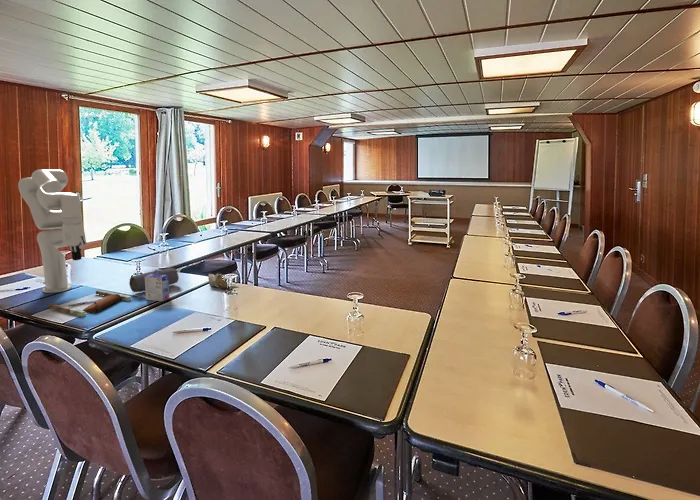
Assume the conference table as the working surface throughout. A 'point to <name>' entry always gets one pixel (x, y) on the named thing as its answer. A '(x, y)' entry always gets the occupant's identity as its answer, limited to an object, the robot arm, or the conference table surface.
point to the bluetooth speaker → (139, 280)
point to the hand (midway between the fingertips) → (77, 259)
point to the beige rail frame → (80, 312)
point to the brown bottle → (102, 303)
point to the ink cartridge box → (157, 287)
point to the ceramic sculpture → (217, 280)
